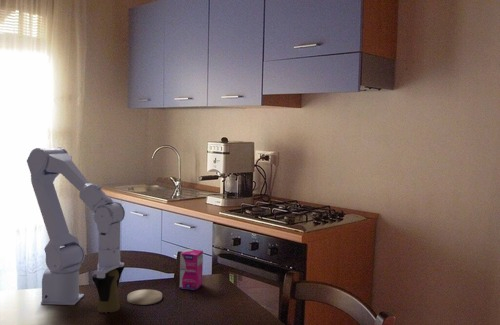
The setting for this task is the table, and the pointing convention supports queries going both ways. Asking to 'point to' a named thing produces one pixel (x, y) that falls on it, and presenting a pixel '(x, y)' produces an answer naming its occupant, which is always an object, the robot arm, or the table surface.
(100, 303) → the cork
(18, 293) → the table surface
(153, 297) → the coaster
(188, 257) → the supplement box
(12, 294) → the table surface
